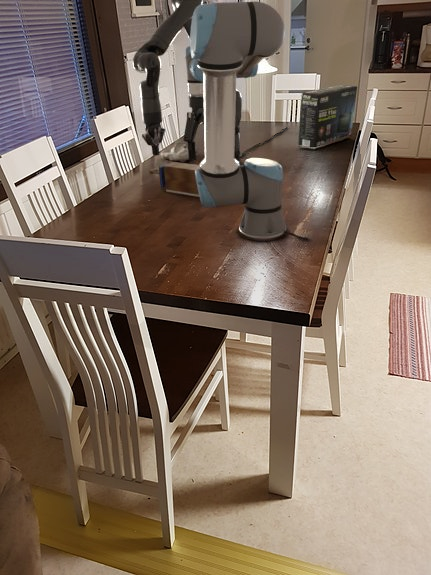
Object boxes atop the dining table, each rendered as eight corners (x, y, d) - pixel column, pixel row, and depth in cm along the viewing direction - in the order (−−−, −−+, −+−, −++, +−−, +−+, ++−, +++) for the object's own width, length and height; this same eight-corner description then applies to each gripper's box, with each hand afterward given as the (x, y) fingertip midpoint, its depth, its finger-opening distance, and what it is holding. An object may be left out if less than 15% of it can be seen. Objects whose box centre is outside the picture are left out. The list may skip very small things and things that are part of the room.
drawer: (149, 186, 191) (147, 165, 187) (156, 182, 195) (154, 162, 191) (201, 194, 180) (200, 172, 176) (208, 190, 184) (207, 168, 180)
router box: (314, 151, 231) (318, 94, 217) (296, 148, 237) (299, 92, 224) (352, 138, 251) (358, 85, 238) (335, 135, 258) (340, 83, 245)
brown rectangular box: (166, 191, 187) (163, 166, 182) (174, 186, 192) (172, 161, 187) (210, 198, 178) (208, 172, 173) (218, 193, 183) (217, 167, 178)
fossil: (184, 156, 217) (163, 136, 220) (174, 174, 223) (154, 154, 227) (205, 153, 231) (186, 134, 234) (195, 171, 237) (176, 152, 240)
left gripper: (153, 106, 183) (158, 150, 192) (133, 112, 173) (138, 158, 182) (169, 107, 180) (172, 152, 189) (149, 113, 170) (154, 160, 179)
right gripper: (206, 89, 174) (209, 146, 185) (170, 100, 155) (175, 162, 166) (224, 90, 170) (225, 147, 182) (189, 101, 152) (193, 164, 163)
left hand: (156, 155), depth 185 cm, fingers closed
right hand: (201, 154), depth 174 cm, fingers open, 13 cm apart
